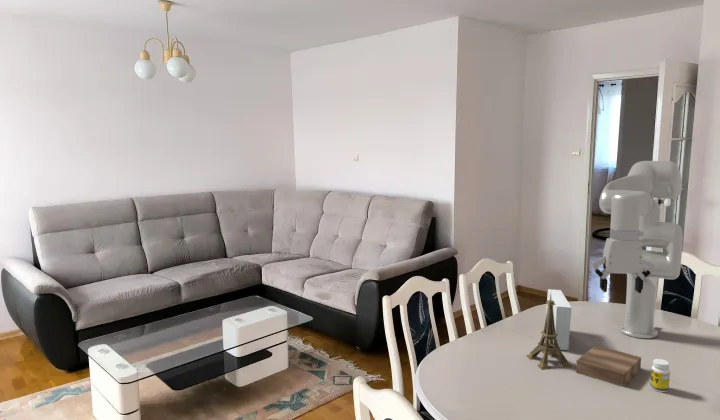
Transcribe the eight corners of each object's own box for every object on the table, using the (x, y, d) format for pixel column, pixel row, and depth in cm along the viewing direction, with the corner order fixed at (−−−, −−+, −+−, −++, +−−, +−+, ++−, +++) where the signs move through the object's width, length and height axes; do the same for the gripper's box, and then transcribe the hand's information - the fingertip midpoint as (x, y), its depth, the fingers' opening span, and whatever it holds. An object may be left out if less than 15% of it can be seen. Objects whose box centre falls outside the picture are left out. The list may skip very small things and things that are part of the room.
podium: (595, 356, 174) (595, 345, 173) (640, 368, 164) (641, 357, 163) (576, 372, 162) (576, 360, 162) (623, 386, 153) (624, 374, 152)
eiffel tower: (541, 369, 165) (544, 294, 161) (526, 356, 175) (528, 285, 172) (571, 367, 167) (575, 292, 163) (554, 353, 177) (557, 283, 173)
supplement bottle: (646, 385, 154) (648, 358, 152) (661, 384, 154) (663, 357, 153) (657, 393, 149) (658, 365, 148) (672, 392, 149) (674, 364, 148)
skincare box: (570, 351, 178) (572, 307, 176) (553, 350, 179) (555, 306, 177) (559, 328, 199) (561, 289, 196) (544, 328, 200) (546, 288, 198)
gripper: (650, 233, 154) (646, 288, 156) (589, 232, 156) (586, 287, 158) (661, 238, 146) (657, 296, 149) (597, 237, 149) (594, 294, 151)
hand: (620, 291), depth 154 cm, fingers open, 9 cm apart
